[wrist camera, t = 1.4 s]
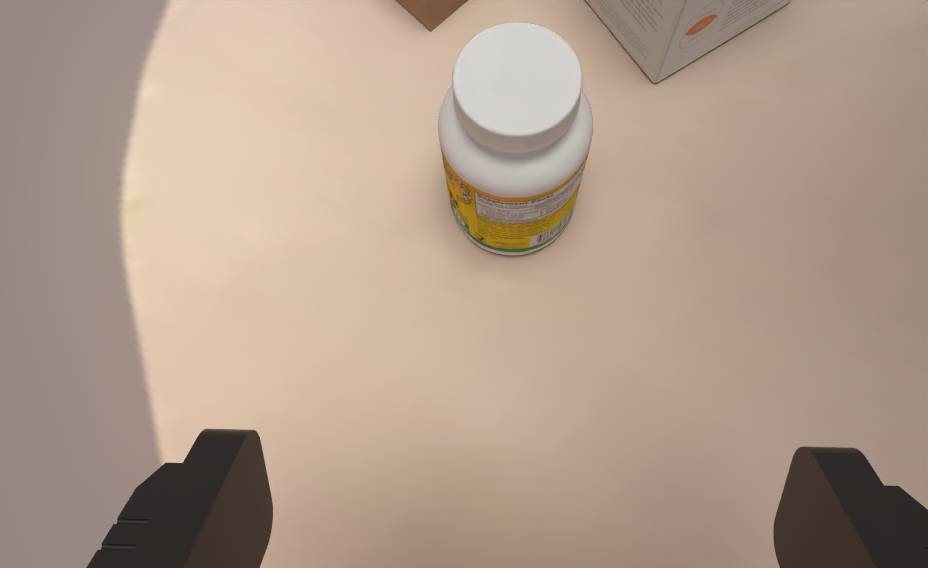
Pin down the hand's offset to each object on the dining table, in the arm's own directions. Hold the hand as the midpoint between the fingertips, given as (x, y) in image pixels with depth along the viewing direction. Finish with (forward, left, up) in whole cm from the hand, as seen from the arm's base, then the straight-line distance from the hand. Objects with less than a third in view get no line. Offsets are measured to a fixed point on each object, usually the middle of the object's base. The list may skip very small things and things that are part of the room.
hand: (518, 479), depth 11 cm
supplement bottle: (-6, -10, -18) cm, 21 cm away
